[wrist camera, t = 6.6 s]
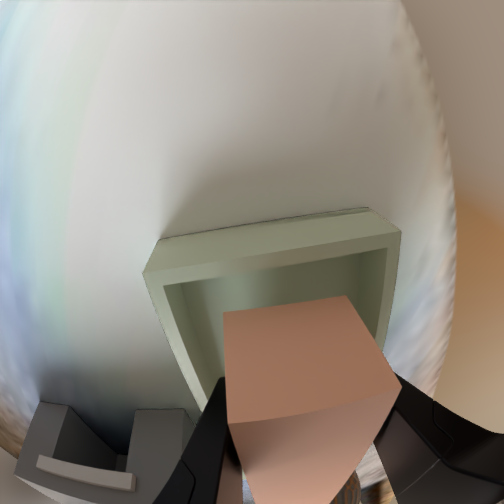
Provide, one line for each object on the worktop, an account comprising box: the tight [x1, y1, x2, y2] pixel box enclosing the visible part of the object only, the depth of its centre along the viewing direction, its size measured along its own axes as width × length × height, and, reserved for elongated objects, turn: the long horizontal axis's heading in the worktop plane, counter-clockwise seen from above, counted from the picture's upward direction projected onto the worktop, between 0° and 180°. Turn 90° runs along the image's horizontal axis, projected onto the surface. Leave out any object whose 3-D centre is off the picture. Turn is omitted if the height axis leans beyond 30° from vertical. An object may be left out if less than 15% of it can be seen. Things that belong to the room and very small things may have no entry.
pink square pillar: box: [223, 295, 402, 504], centre depth 10 cm, size 14×4×4 cm, turn 4°
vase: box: [329, 470, 361, 504], centre depth 16 cm, size 7×7×9 cm
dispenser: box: [14, 402, 195, 504], centre depth 13 cm, size 10×12×7 cm
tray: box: [142, 207, 401, 480], centre depth 13 cm, size 18×8×2 cm, turn 8°
